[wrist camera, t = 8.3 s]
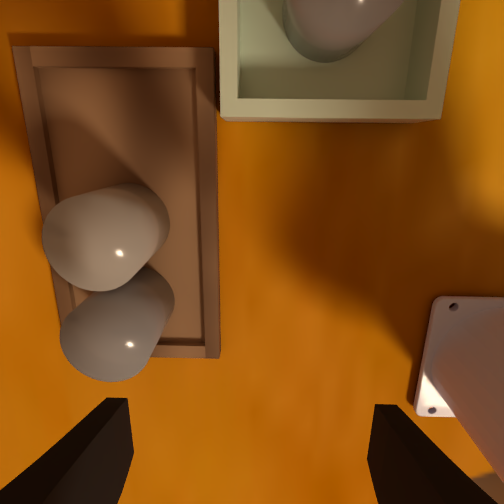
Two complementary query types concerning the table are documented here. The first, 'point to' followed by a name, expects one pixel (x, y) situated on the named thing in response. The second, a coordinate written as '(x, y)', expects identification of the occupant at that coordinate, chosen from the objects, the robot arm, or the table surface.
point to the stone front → (333, 25)
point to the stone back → (118, 327)
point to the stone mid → (105, 235)
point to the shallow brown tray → (135, 161)
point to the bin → (335, 68)
